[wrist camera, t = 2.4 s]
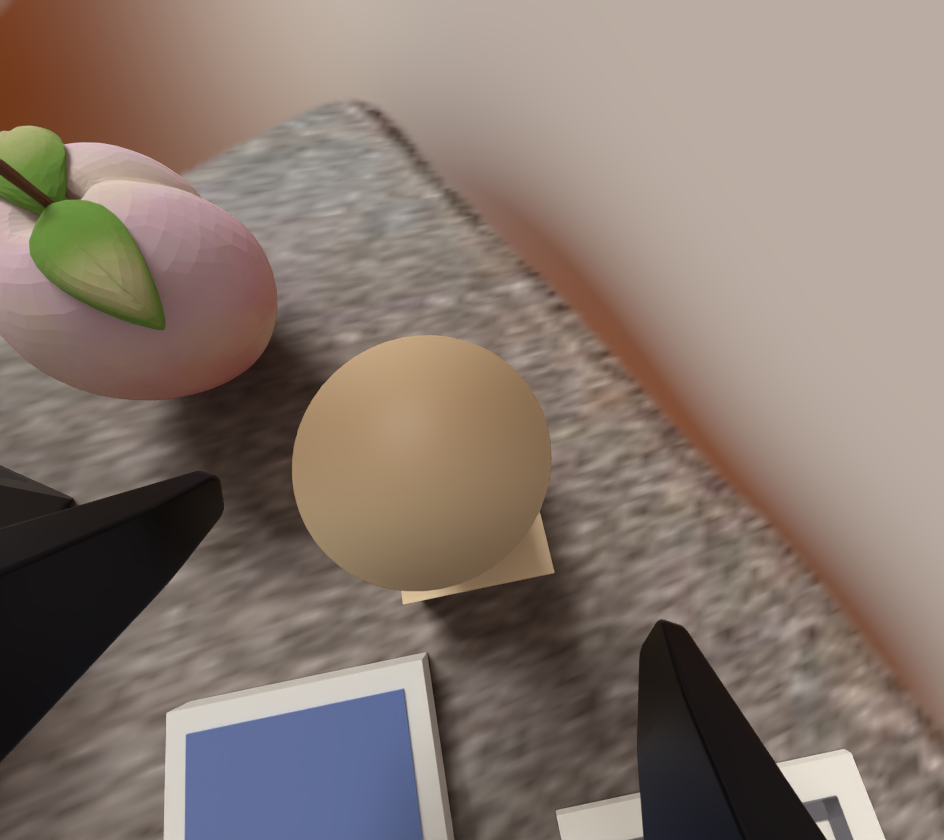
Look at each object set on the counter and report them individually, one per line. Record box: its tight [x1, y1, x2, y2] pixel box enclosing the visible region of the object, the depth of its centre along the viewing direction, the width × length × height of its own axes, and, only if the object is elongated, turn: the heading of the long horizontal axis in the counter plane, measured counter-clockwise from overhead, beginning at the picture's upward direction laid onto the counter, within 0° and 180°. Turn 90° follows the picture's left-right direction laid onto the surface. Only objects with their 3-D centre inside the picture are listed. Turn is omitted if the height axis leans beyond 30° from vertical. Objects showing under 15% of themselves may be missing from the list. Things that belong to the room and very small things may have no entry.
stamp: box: [292, 335, 555, 604], centre depth 12 cm, size 5×5×12 cm
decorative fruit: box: [0, 126, 277, 400], centre depth 15 cm, size 9×8×10 cm
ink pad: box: [164, 652, 454, 840], centre depth 14 cm, size 9×9×1 cm
